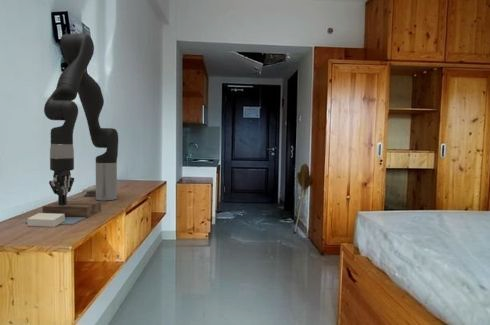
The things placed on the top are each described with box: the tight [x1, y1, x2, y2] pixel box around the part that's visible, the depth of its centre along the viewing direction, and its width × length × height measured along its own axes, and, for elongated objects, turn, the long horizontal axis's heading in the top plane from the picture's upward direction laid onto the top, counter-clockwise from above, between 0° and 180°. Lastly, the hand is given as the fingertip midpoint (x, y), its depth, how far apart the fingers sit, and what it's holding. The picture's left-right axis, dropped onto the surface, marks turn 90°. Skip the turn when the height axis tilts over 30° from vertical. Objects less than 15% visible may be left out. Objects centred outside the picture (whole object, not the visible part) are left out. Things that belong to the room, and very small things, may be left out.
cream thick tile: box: [26, 212, 65, 228], centre depth 115 cm, size 6×9×2 cm, turn 87°
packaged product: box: [81, 184, 96, 197], centre depth 176 cm, size 18×5×10 cm
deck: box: [42, 200, 102, 219], centre depth 131 cm, size 12×16×4 cm
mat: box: [24, 217, 87, 226], centre depth 120 cm, size 10×16×1 cm, turn 89°
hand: (62, 205), depth 124 cm, fingers closed
